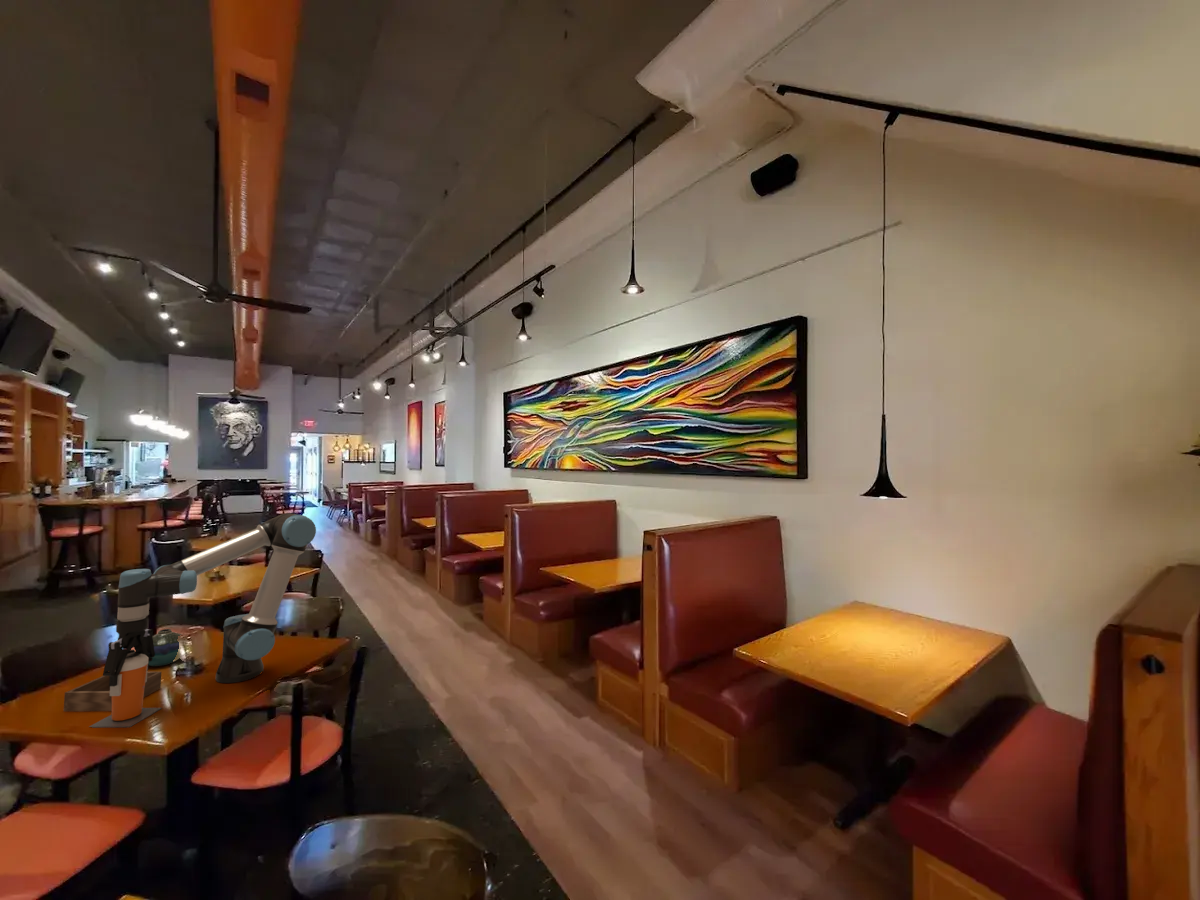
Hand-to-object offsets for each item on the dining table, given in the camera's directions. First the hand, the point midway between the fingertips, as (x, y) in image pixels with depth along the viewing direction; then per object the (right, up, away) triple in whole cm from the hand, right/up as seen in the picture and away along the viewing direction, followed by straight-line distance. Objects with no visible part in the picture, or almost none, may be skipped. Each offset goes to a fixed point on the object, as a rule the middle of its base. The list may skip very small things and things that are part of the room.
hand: (128, 688), depth 160 cm
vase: (-27, -11, +43) cm, 52 cm away
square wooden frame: (-16, -9, +12) cm, 22 cm away
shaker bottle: (0, -9, 0) cm, 9 cm away
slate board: (0, -9, 0) cm, 9 cm away
